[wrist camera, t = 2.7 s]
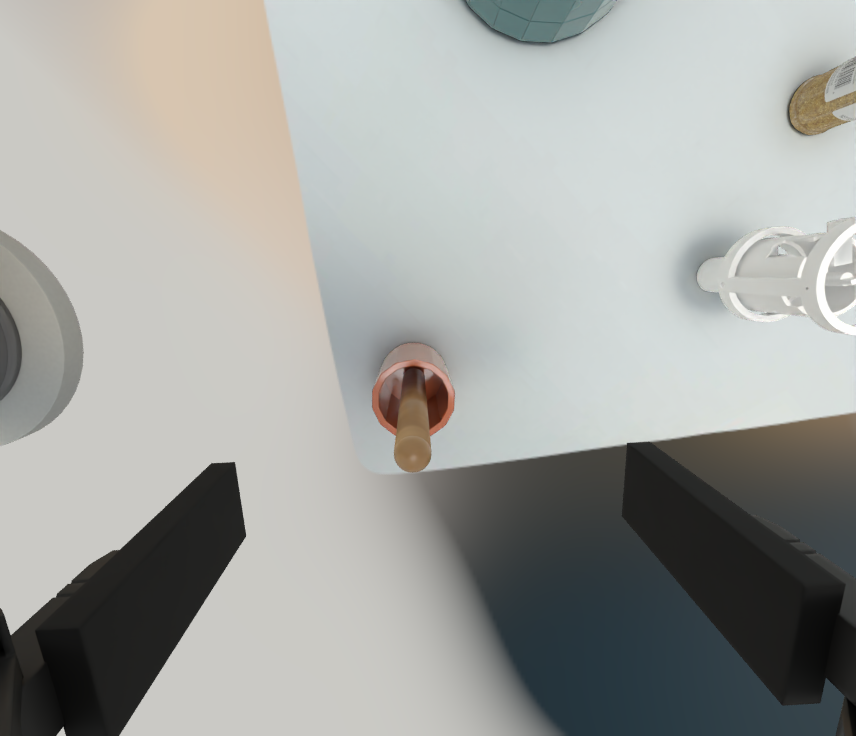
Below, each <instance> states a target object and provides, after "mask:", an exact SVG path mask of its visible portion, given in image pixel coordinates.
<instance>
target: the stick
mask: <svg viewBox="0 0 856 736" xmlns="http://www.w3.org/2000/svg"><path fill="white" fill-rule="evenodd" d="M394 458H395V461H396V463H397V465H398V466H399V467H400V468H401V469H402V470H404V471H406V472H412V473H413V472H419V471H421V470H423V469H424V468H425V467H426V466H427V465H428V463H429V462H430V459H431V442H430V431H429V420H428V408H427V397H426V385H425V376H424V374H423V372H422V371H421V370H419V369H417V368H411V369H408V370H407V371H406V372H405V373H404V375H403V381H402V389H401V398H400V406H399V414H398V423H397V431H396V439H395V448H394Z"/></svg>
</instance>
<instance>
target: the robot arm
mask: <svg viewBox="0 0 856 736" xmlns="http://www.w3.org/2000/svg"><path fill="white" fill-rule="evenodd" d="M21 359H22V348H21V341H20V336H19V332H18V329H17V326H16V324H15V321H14V319H13V317H12V315H11V313H10V311H9V310H8V308H7V307H6V305H5V304H4V302H3V301H2V300H1V298H0V401H1V400H2V399H3V398H4V397H5V396H6V395H7V394H8V393H9V391H10V390H11V389H12V387H13V385H14V384H15V382H16V380H17V377H18V374H19V371H20V367H21ZM622 517H623V518H624V519H625V520H626V521H627V523H628V524H629V525H630V526H631V527H632V529H633V530H634V531H635V532H636V533H637V534H638V536H639V537H640V538H641V539H642V540H643V542H644V543H645V544H646V545H647V546H648V547H649V549H650V550H651V551H652V552H653V553H654V554H655V556H656V557H657V558H658V559H659V560H660V562H661V563H662V564H663V565H664V566H665V567H666V569H667V570H668V571H669V572H670V573H671V575H672V576H673V577H674V578H675V579H676V580H677V582H678V583H679V584H680V585H681V586H682V588H683V589H684V590H685V591H686V592H687V593H688V595H689V596H690V597H691V598H692V599H693V601H695V603H696V604H697V605H698V606H699V607H700V609H701V610H702V611H703V612H704V613H705V615H706V616H707V617H708V618H709V619H710V621H711V622H712V623H713V624H714V625H715V626H716V628H717V629H718V630H719V631H720V632H721V633H722V635H723V636H724V637H725V638H726V639H727V641H728V642H729V643H730V644H731V645H732V647H733V648H734V649H735V650H736V651H737V652H738V654H739V655H740V656H741V657H742V658H743V660H744V661H745V662H746V663H747V664H748V665H749V667H750V668H751V669H752V670H753V671H754V673H755V674H756V675H757V676H758V677H759V678H760V679H761V681H762V682H763V683H764V684H765V685H766V687H767V688H768V689H769V690H770V691H771V693H772V694H773V695H774V696H775V697H776V698H777V700H778V701H779V702H780V703H781V704H782V705H798V704H814V703H820V702H821V697H822V692H823V688H824V683H825V679H826V678H827V679H828V680H829V681H830V682H831V683H832V684H833V685H835V687H836V688H837V689H839V691H840V692H841V693H842V694H843V695H844V696H845V697H844V701H843V706H842V710H841V715H840V719H839V723H838V728H837V732H836V736H856V578H854V577H853V576H851V575H850V574H848V573H847V572H846V571H844V570H843V569H841V568H840V567H838V566H837V565H835V564H834V563H833V562H831V561H830V560H828V559H827V558H825V557H824V556H823V555H821V554H817V553H816V551H815V550H814V549H812V548H811V547H810V546H808V545H807V544H805V543H804V542H800V540H799V539H798V538H797V537H795V536H794V535H792V534H791V533H790V532H788V531H787V530H785V529H784V528H782V527H781V526H779V525H777V524H775V523H773V522H770V521H768V520H766V519H764V518H761V517H759V516H757V515H750V514H748V513H747V512H746V511H744V510H743V509H741V508H740V507H739V506H737V505H736V504H735V503H733V502H732V501H730V500H729V499H728V498H726V497H725V496H724V495H722V494H721V493H719V492H718V491H717V490H715V489H714V488H713V487H711V486H710V485H708V484H707V483H706V482H704V481H703V480H701V479H700V478H699V477H697V476H696V475H695V474H693V473H692V472H690V471H689V470H688V469H686V468H685V467H684V466H682V465H681V464H679V463H678V462H677V461H675V460H674V459H672V458H671V457H670V456H668V455H667V454H666V453H664V452H663V451H661V450H660V449H659V448H657V447H656V446H655V445H653V444H652V443H650V442H638V443H627V453H626V468H625V481H624V494H623V509H622ZM245 537H246V532H245V525H244V518H243V512H242V506H241V499H240V492H239V487H238V479H237V473H236V467H235V462H230V463H212V464H210V465H209V466H208V467H207V468H206V469H205V470H204V471H203V472H202V473H201V474H200V475H199V476H198V477H197V478H196V479H194V480H193V481H192V482H191V483H190V484H189V485H188V486H187V487H186V488H185V489H184V490H183V491H182V492H181V493H180V494H179V495H178V496H176V497H175V499H173V500H172V501H171V502H170V503H169V504H168V505H167V506H166V507H165V508H164V509H163V510H162V511H161V512H160V513H158V514H157V515H156V516H155V517H154V518H153V519H152V520H151V521H150V522H149V523H148V524H147V525H146V526H145V527H144V528H143V529H142V530H140V531H139V533H137V534H136V535H135V536H134V537H133V538H132V539H131V540H130V541H129V542H128V543H127V544H126V545H125V546H124V547H122V548H121V549H120V550H116V551H115V550H114V551H112V552H110V553H108V554H106V555H105V556H103V557H101V558H100V559H98V560H96V561H95V562H93V563H92V564H90V565H89V566H88V567H86V568H85V569H84V570H83V571H82V572H81V573H80V574H79V575H78V576H77V577H75V578H74V579H73V580H72V583H71V584H68V585H67V586H65V588H63V589H62V590H61V591H60V592H59V593H58V594H57V596H56V598H52V599H51V600H50V601H49V602H48V603H46V604H45V605H44V606H43V607H42V608H41V609H40V610H39V611H38V612H37V613H35V614H34V615H33V616H32V617H31V618H30V619H29V620H28V621H27V622H25V623H24V624H23V625H22V626H21V627H20V628H19V629H18V630H17V631H15V632H14V633H13V634H12V635H10V632H9V629H8V626H7V623H6V620H5V616H4V614H3V612H2V610H1V608H0V736H56V735H57V734H58V733H59V731H60V730H61V729H62V727H64V730H65V734H66V736H119V735H120V733H121V732H122V730H123V729H124V727H125V725H126V724H127V722H128V721H129V719H130V718H131V716H132V715H133V713H134V711H135V710H136V708H137V707H138V705H139V703H140V702H141V700H142V699H143V697H144V696H145V694H146V693H147V691H148V689H149V688H150V686H151V685H152V683H153V682H154V680H155V678H156V677H157V675H158V674H159V672H160V670H161V669H162V667H163V666H164V664H165V663H166V661H167V659H168V658H169V656H170V654H171V653H172V651H173V650H174V649H175V647H176V645H177V644H178V642H179V641H180V639H181V638H182V636H183V634H184V633H185V631H186V630H187V628H188V627H189V625H190V623H191V622H192V620H193V619H194V617H195V616H196V614H197V612H198V611H199V609H200V608H201V606H202V605H203V603H204V601H205V599H206V598H207V597H208V595H209V594H210V592H211V590H212V589H213V587H214V586H215V584H216V583H217V581H218V579H219V578H220V576H221V575H222V573H223V572H224V570H225V568H226V567H227V565H228V564H229V562H230V561H231V559H232V557H233V556H234V554H235V553H236V551H237V550H238V548H239V546H240V545H241V543H242V542H243V540H244V539H245Z"/></svg>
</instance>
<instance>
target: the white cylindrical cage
mask: <svg viewBox="0 0 856 736" xmlns="http://www.w3.org/2000/svg"><path fill="white" fill-rule="evenodd" d="M769 235H777V236H780V237H776V238H766V239H762V238H764V237H766V236H769ZM853 235H856V217H851V218H843V219H838V220H833V221H830V222H827V233H817V234H807V235H806V234H805V233H804V232H802V231H800V230H798V229H795V228H792V227H785V226H781V227H772V228H764V229H759V230H756V231H753V232H751V233H749V234H747V235H745V236H744V237H742V238H741V239H739V240H738V241H737V242H736V243H735V244H734V245H733V246H732V247H731V248H730V250H729V251H728V252H727V254H726V255H725V257H716V258H710V259H708V260H706V261H705V262H704V263H703V264H702V265H701V266H700V268H699V270H698V272H697V282H698V285H699V286H700V287H701V288H702V289H703V290H705V291H707V292H719V295H720V298H721V300H722V302H723V304H724V305H725V307H726V308H727V309H728V310H729V311H730V312H731V313H732V314H734V315H736V316H737V317H740V318H742V319H746V320H752V321H759V322H772V321H777V320H781V319H783V318H786V317H788V316H790V315H795V316H804V317H810V318H811V319H812V321H813V322H815V323H816V324H817V325H818V326H820V327H822V328H823V329H826V330H828V331H831V332H836V333H843V334H850V335H856V324H855V325H848V324H845V323H843V322H842V321H840V320H839V319H838V318H837V317H836V316H838V315H840V314H843V313H844V312H846V311H848V310H849V309H851V308H852V307H853V306H855V305H856V240H855V239H854V238H853ZM778 246H779V247H781V248H782V249H784V250H785V251H786V252H787V254H781V255H778ZM749 310H751V311H760V312H767V313H764V314H754V313H752V312H750V311H749Z"/></svg>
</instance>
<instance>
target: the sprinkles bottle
mask: <svg viewBox="0 0 856 736" xmlns="http://www.w3.org/2000/svg"><path fill="white" fill-rule="evenodd" d="M789 113H790V119H791V123H792V125H793V126H794V127H795V129H797V130H798V131H800V132H802V133H803V134H807V135H815V134H819V133H823V132H825V131H827V130H828V129H830V128H833V127H835V126H838V125H841V124H844V123H847V122H850V121H853V120H856V57H854V58H852V59H850V60H848V61H846V62H845V63H843V64H842V65H840V66H838V67H836V68H834V69H832V70H830V71H828V72H826V73H824V74H822V75H817V76H814V77H812V78H810V79H808V80H807V81H805V82H804V83H803V84H802V85H801V86H800V87H799V88H798V89H797V91H796V92H795V94H794V96H793V98H792V100H791V103H790V109H789Z"/></svg>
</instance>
